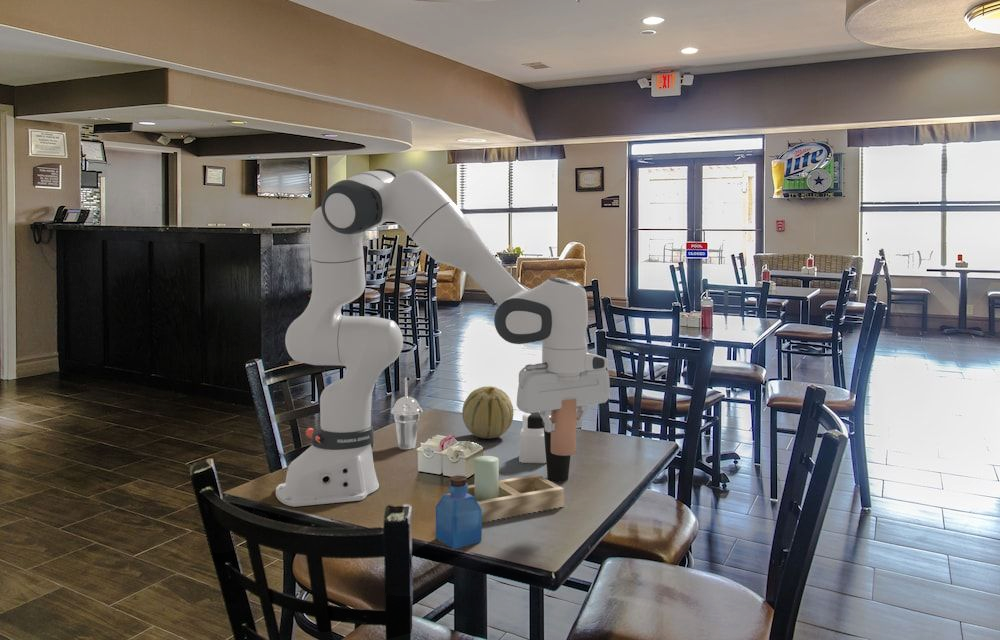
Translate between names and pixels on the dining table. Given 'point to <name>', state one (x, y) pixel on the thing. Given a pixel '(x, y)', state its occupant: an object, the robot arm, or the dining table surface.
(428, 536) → the dining table surface
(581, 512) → the dining table surface
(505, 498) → the wooden tray
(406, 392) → the cup with straw
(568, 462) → the drinking cup
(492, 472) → the green peg
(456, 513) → the perfume bottle
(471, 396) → the cantaloupe
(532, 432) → the medicine bottle
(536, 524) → the dining table surface
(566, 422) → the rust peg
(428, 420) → the dining table surface
